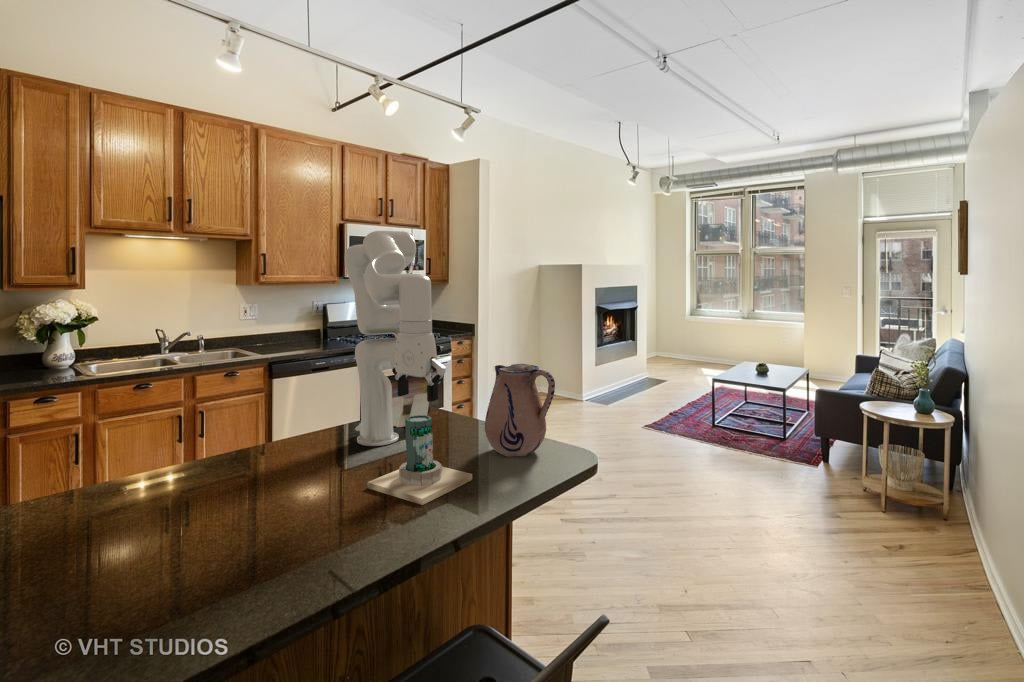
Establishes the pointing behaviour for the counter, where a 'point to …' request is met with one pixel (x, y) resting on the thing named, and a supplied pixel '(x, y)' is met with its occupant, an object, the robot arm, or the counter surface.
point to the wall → (408, 408)
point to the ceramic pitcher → (517, 410)
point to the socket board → (420, 491)
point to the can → (419, 443)
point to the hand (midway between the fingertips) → (417, 397)
